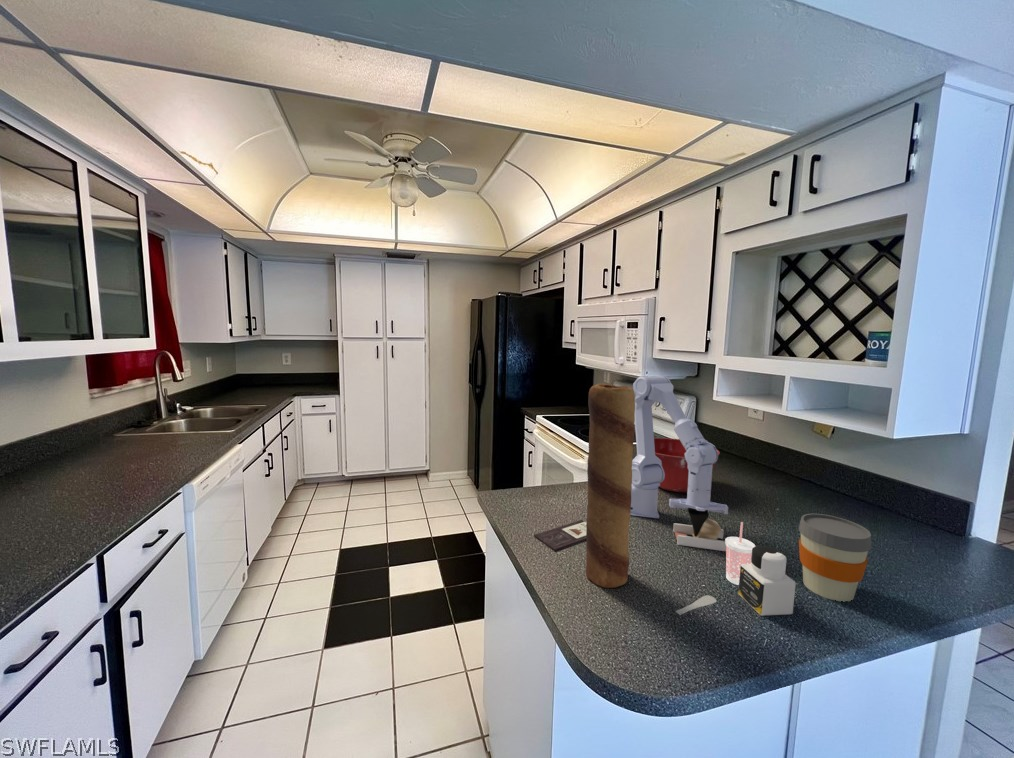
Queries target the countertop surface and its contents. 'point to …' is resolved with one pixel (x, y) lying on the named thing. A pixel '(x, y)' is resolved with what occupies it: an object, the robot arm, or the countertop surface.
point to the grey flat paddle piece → (698, 604)
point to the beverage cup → (737, 555)
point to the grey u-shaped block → (685, 540)
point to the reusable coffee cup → (833, 555)
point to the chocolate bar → (564, 535)
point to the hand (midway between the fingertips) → (696, 535)
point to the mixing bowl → (673, 464)
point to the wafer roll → (609, 483)
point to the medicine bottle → (767, 582)
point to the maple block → (709, 530)
